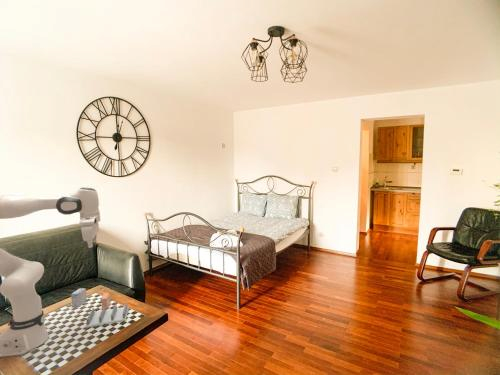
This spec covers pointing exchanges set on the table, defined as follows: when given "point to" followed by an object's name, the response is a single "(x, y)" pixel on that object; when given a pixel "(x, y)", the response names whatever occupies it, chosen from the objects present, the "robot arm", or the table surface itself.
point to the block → (105, 300)
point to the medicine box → (78, 297)
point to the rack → (107, 316)
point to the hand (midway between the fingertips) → (92, 244)
